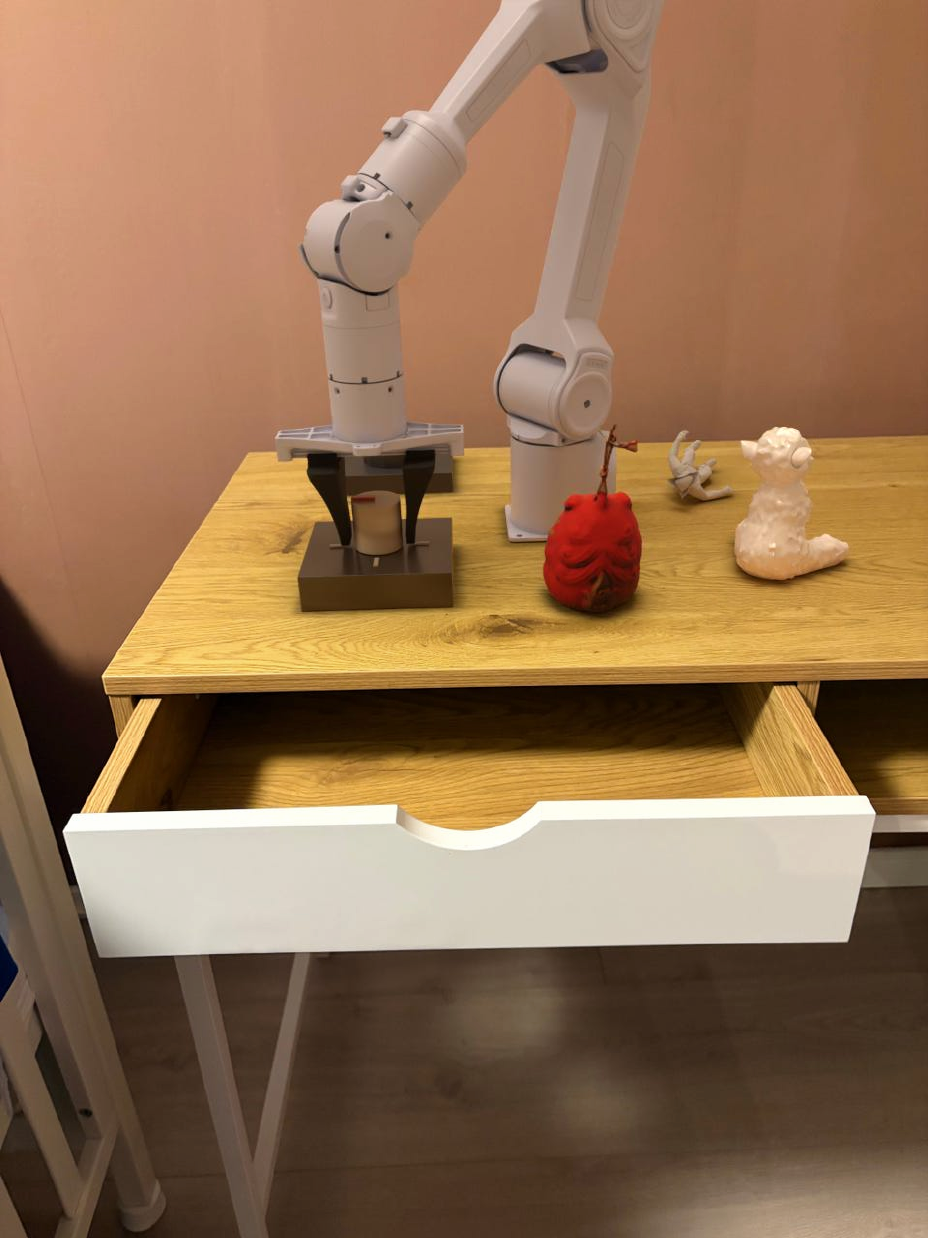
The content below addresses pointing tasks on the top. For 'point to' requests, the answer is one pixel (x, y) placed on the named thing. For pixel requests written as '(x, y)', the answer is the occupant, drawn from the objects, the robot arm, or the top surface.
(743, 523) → the sitting furry creature
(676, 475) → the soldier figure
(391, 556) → the dial panel
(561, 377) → the robot arm
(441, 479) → the button box
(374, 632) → the top surface
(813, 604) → the top surface
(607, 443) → the red clay folk toy
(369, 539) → the dial knob
